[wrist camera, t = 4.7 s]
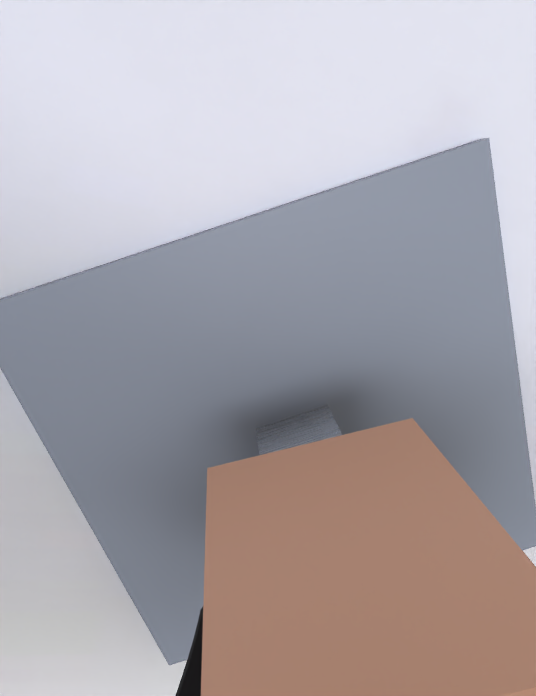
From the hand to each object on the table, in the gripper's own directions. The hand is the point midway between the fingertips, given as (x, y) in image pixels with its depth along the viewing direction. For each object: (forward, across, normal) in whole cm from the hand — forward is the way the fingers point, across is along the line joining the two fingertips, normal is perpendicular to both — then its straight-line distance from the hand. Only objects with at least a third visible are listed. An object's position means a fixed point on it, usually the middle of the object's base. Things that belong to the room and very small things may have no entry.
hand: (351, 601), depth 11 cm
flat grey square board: (+7, 0, 0) cm, 7 cm away
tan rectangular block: (+2, 0, 0) cm, 2 cm away
